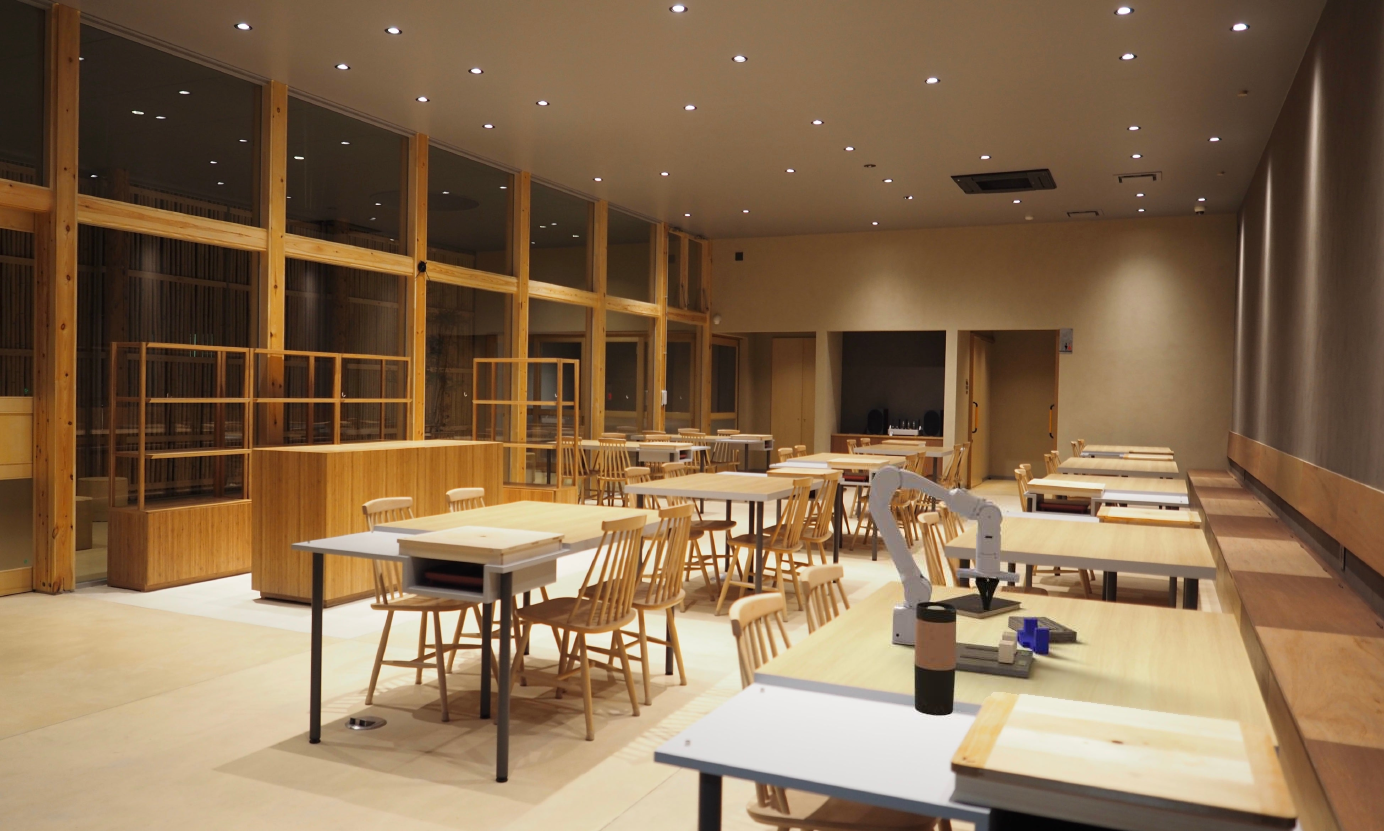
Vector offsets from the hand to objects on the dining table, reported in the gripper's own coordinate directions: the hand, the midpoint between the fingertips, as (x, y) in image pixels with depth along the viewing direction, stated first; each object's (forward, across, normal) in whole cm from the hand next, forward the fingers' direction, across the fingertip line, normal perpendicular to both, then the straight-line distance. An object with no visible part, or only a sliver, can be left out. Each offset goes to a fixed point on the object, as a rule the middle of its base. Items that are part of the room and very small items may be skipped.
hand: (986, 609), depth 233 cm
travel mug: (+10, -4, -54) cm, 55 cm away
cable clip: (+10, +10, +6) cm, 16 cm away
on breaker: (+8, +6, -7) cm, 12 cm away
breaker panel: (+9, +2, -13) cm, 16 cm away
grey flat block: (+10, +11, +22) cm, 27 cm away
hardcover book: (+10, -8, +47) cm, 49 cm away
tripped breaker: (+8, +6, -16) cm, 19 cm away
